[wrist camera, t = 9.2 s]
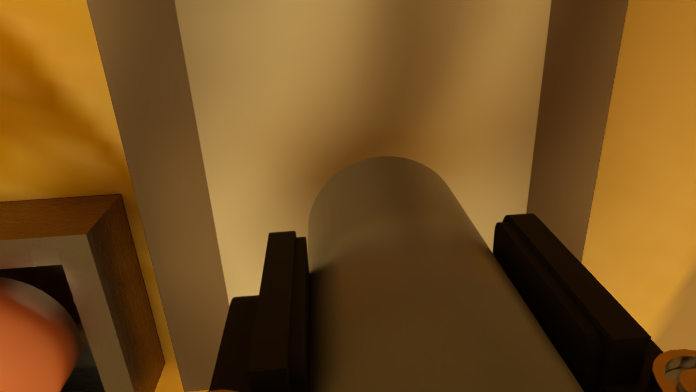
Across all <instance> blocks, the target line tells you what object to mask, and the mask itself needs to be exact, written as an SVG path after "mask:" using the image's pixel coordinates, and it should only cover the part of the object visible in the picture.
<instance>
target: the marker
mask: <svg viewBox="0 0 696 392" xmlns="http://www.w3.org/2000/svg"><path fill="white" fill-rule="evenodd" d="M308 263H309V392H584V391H583V389H582V388H581V386H580V385H579V383H578V382H577V380H576V379H575V377H574V376H573V374H572V373H571V371H570V370H569V368H568V366H567V365H566V363H565V362H564V360H563V359H562V357H561V356H560V354H559V353H558V351H557V350H556V348H555V347H554V345H553V344H552V342H551V341H550V339H549V338H548V336H547V335H546V333H545V332H544V330H543V329H542V327H541V326H540V324H539V323H538V321H537V320H536V318H535V317H534V315H533V314H532V312H531V310H530V309H529V307H528V306H527V304H526V303H525V301H524V300H523V298H522V297H521V295H520V294H519V292H518V291H517V289H516V288H515V286H514V285H513V283H512V282H511V280H510V279H509V277H508V276H507V274H506V273H505V271H504V270H503V268H502V267H501V265H500V264H499V262H498V261H497V259H496V258H495V256H494V255H493V253H492V251H491V250H490V248H489V247H488V245H487V244H486V242H485V241H484V239H483V238H482V236H481V235H480V233H479V232H478V230H477V229H476V227H475V226H474V224H473V223H472V221H471V220H470V218H469V217H468V215H467V214H466V212H465V211H464V209H463V208H462V206H461V205H460V203H459V202H458V200H457V199H456V197H455V195H454V194H453V192H452V191H451V189H450V188H449V187H448V185H447V184H446V182H445V181H444V180H443V179H442V178H441V177H440V176H439V175H438V174H437V173H436V172H434V171H433V170H432V169H431V168H429V167H427V166H425V165H424V164H422V163H419V162H417V161H414V160H411V159H407V158H403V157H394V156H382V157H374V158H369V159H365V160H362V161H359V162H356V163H354V164H352V165H350V166H348V167H346V168H344V169H342V170H341V171H340V172H338V173H337V174H336V175H334V176H333V177H332V178H331V179H330V180H329V181H328V182H327V183H326V184H325V185H324V186H323V188H322V189H321V190H320V192H319V193H318V195H317V197H316V198H315V201H314V203H313V205H312V208H311V211H310V215H309V222H308Z"/></svg>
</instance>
